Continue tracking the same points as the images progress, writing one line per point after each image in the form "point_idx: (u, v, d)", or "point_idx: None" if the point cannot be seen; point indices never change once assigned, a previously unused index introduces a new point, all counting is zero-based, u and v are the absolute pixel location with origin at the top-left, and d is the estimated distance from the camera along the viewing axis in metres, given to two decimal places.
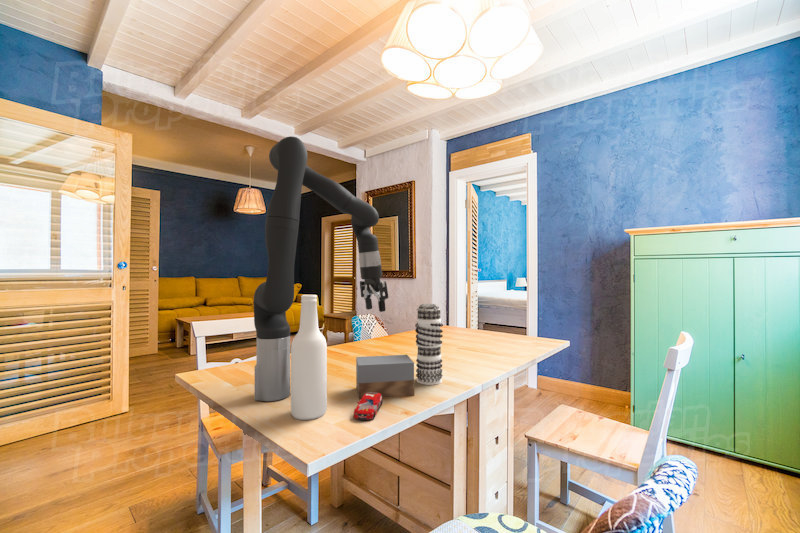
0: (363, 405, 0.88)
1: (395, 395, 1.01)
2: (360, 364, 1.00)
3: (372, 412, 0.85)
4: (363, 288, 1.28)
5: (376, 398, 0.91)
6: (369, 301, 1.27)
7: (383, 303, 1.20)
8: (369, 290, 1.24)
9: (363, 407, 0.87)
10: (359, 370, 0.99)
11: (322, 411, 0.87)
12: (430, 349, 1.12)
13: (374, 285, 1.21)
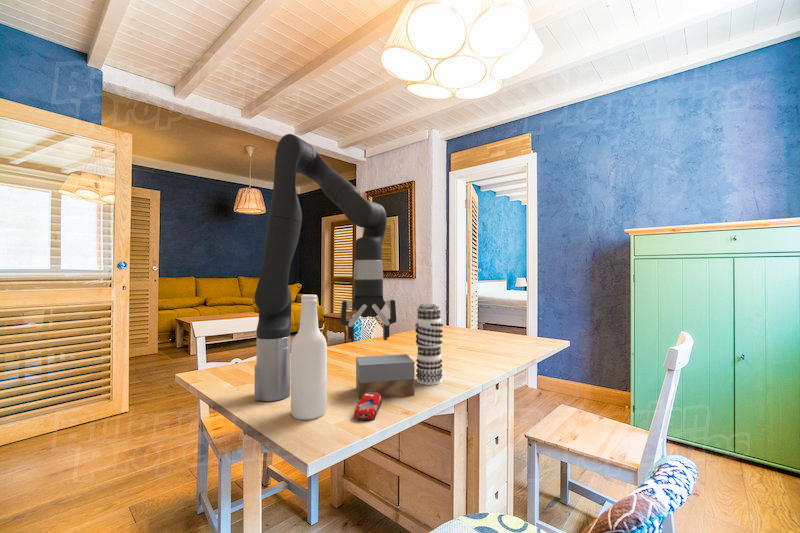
0: (363, 405, 0.88)
1: (395, 395, 1.01)
2: (361, 364, 1.00)
3: (373, 412, 0.85)
4: (390, 309, 0.93)
5: (376, 398, 0.91)
6: (383, 329, 0.92)
7: None
8: None
9: (363, 407, 0.87)
10: (360, 370, 0.99)
11: (322, 411, 0.87)
12: (430, 349, 1.12)
13: None
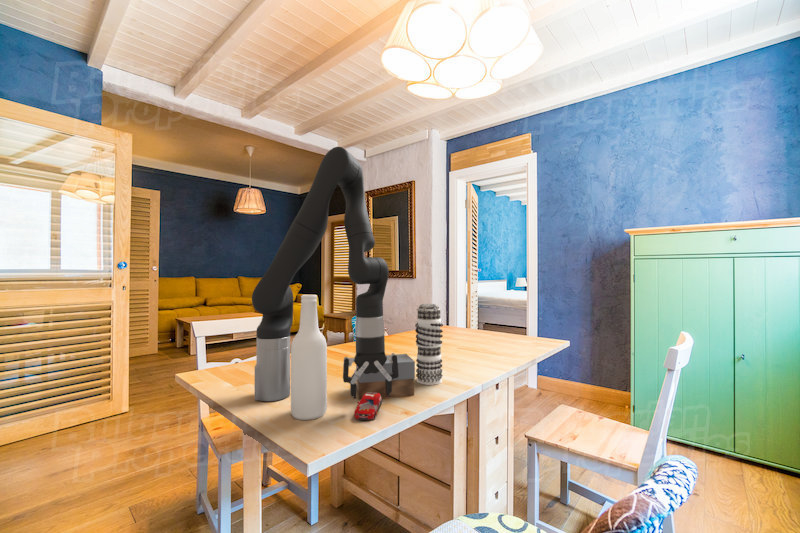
0: (363, 405, 0.88)
1: (395, 395, 1.01)
2: None
3: (373, 412, 0.85)
4: (392, 364, 0.93)
5: (376, 398, 0.91)
6: (386, 384, 0.92)
7: (350, 387, 0.90)
8: None
9: (363, 407, 0.87)
10: None
11: (322, 411, 0.87)
12: (430, 349, 1.12)
13: None
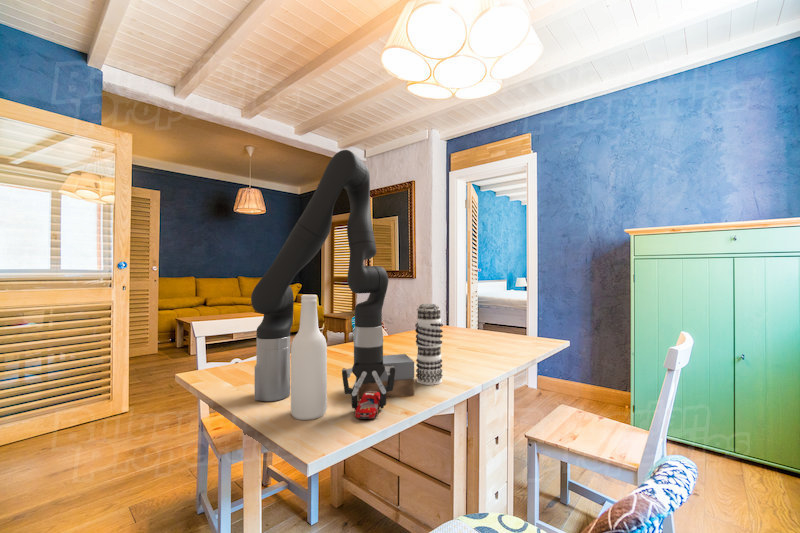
0: (364, 404, 0.88)
1: (395, 395, 1.01)
2: None
3: (374, 411, 0.85)
4: (388, 376, 0.92)
5: (376, 397, 0.91)
6: (380, 396, 0.91)
7: (352, 398, 0.90)
8: None
9: (364, 406, 0.87)
10: None
11: (322, 411, 0.87)
12: (430, 349, 1.12)
13: None
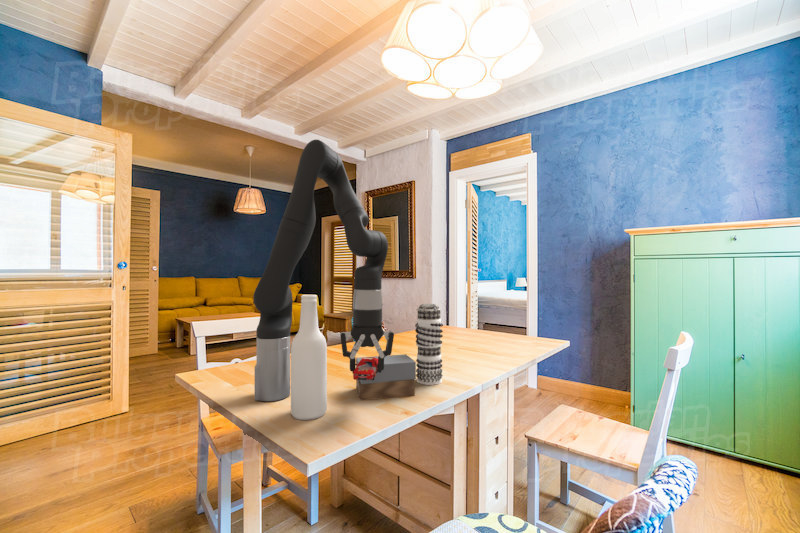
0: (362, 367, 0.87)
1: (396, 395, 1.01)
2: None
3: (372, 373, 0.85)
4: (387, 341, 0.92)
5: (374, 361, 0.91)
6: (378, 361, 0.91)
7: (350, 362, 0.90)
8: None
9: (362, 368, 0.87)
10: None
11: (322, 411, 0.87)
12: (430, 349, 1.12)
13: None
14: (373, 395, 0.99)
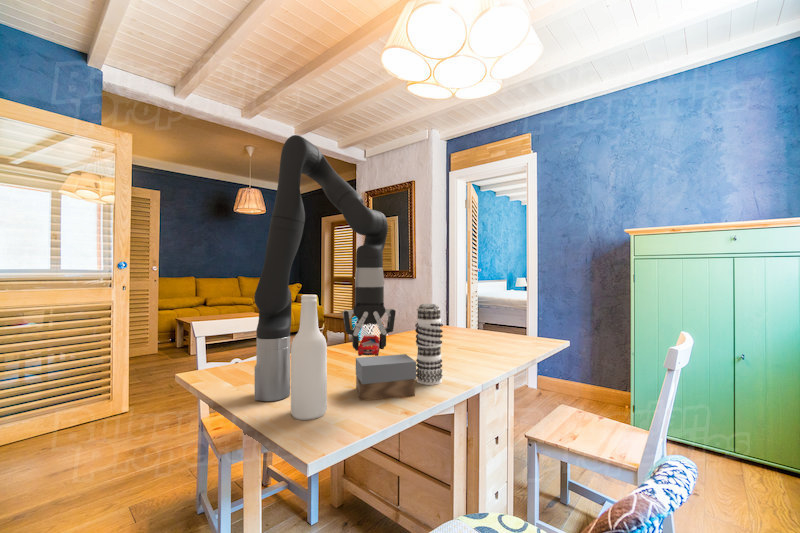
0: (366, 343, 0.89)
1: (396, 395, 1.01)
2: (363, 365, 0.99)
3: (377, 348, 0.87)
4: (388, 318, 0.94)
5: (377, 338, 0.93)
6: (380, 338, 0.93)
7: (353, 339, 0.91)
8: None
9: (366, 344, 0.88)
10: (363, 371, 0.98)
11: (322, 411, 0.87)
12: (430, 349, 1.12)
13: None
14: (373, 394, 0.99)
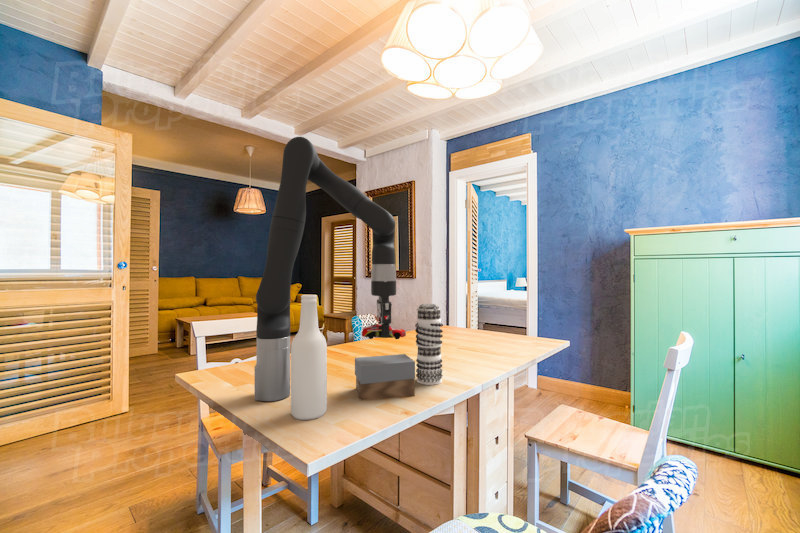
0: (394, 328, 1.05)
1: (396, 395, 1.00)
2: (362, 365, 0.99)
3: None
4: None
5: None
6: None
7: (386, 328, 1.01)
8: None
9: (396, 328, 1.05)
10: (361, 371, 0.98)
11: (322, 411, 0.87)
12: (430, 349, 1.12)
13: (381, 305, 1.03)
14: (373, 394, 0.99)
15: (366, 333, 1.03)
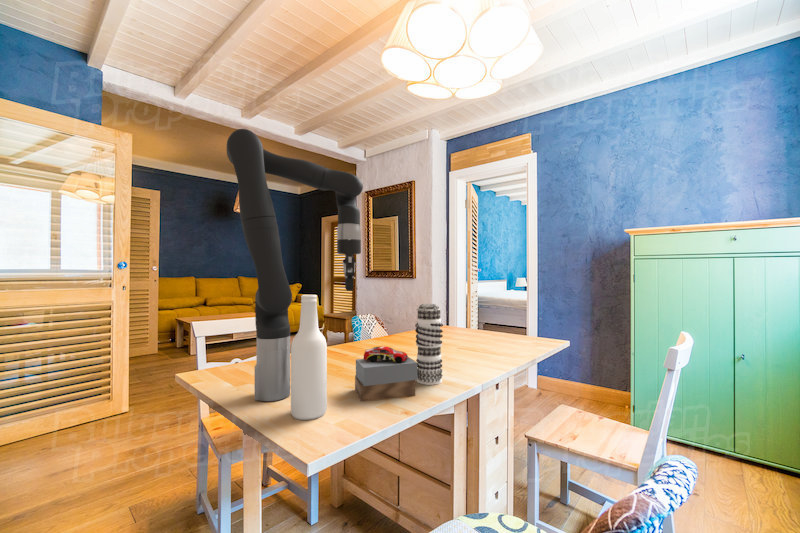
0: (395, 352, 1.04)
1: (397, 396, 1.00)
2: (365, 366, 0.98)
3: None
4: None
5: None
6: None
7: (350, 281, 1.07)
8: None
9: (398, 352, 1.04)
10: (364, 373, 0.97)
11: (322, 411, 0.87)
12: (430, 349, 1.12)
13: (345, 260, 1.09)
14: (374, 396, 0.98)
15: (367, 356, 1.03)
